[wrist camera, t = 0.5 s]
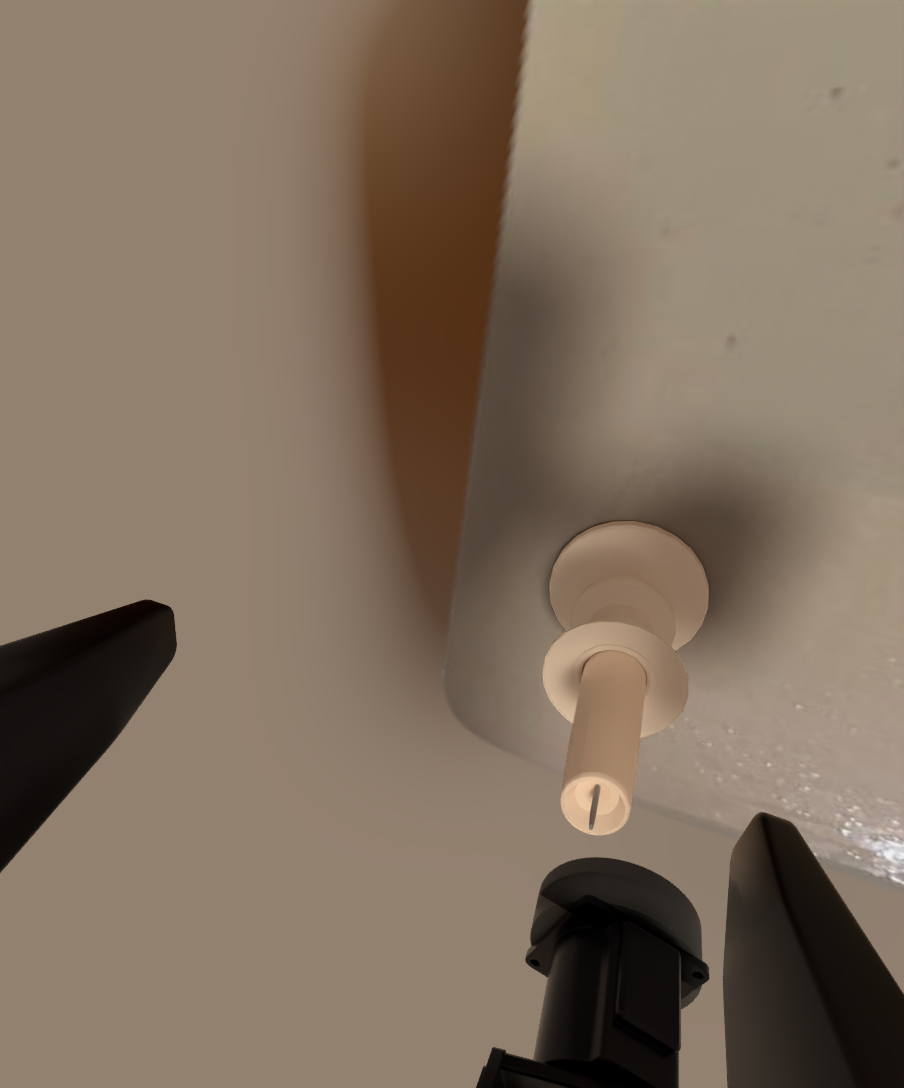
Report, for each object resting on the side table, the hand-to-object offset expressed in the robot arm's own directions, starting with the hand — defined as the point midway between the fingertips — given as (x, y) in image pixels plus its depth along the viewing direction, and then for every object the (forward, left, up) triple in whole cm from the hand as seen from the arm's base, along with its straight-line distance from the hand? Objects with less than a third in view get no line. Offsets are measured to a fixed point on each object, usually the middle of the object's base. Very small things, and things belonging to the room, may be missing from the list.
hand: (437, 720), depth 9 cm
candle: (-3, -4, -13) cm, 14 cm away
